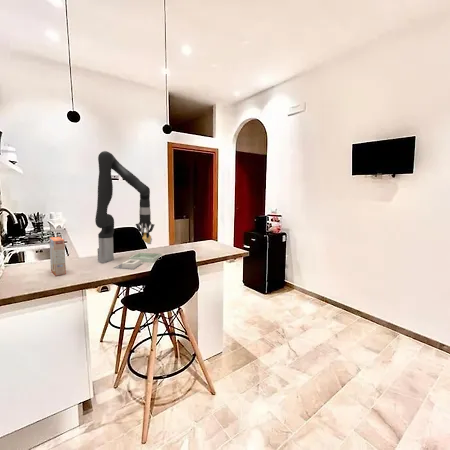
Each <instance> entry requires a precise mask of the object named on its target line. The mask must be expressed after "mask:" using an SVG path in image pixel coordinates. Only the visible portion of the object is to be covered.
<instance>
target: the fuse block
mask: <svg viewBox="0 0 450 450" xmlns="http://www.w3.org/2000/svg"><path fill="white" fill-rule="evenodd" d="M142 265H143V263H142V262H141V260H133V259H129V258H128V259H127V260H126V261H123V262H122V263H120V264H119V265H116V266H114V267H113V269H118V270H119V269H120V270H121V269H122V270H132V271H133V270H136V269H137V268H139V267H141V266H142Z"/></svg>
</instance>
